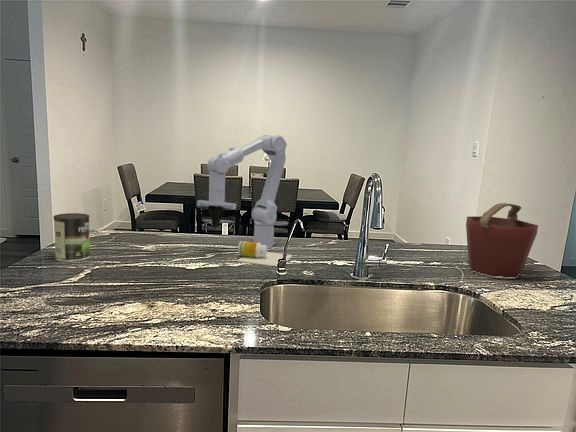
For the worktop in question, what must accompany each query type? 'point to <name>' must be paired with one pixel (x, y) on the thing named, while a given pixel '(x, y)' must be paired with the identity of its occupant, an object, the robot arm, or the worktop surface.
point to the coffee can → (71, 237)
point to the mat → (264, 259)
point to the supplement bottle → (251, 249)
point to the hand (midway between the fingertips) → (215, 226)
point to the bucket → (499, 242)
